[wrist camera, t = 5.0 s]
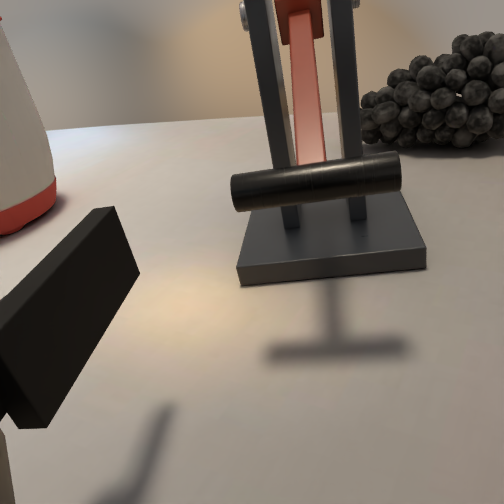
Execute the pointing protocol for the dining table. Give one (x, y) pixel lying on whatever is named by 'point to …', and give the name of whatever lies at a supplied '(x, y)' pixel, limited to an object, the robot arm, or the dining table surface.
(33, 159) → the citrus juicer
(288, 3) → the lever
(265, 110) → the bracket
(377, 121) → the fruit
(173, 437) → the dining table surface
